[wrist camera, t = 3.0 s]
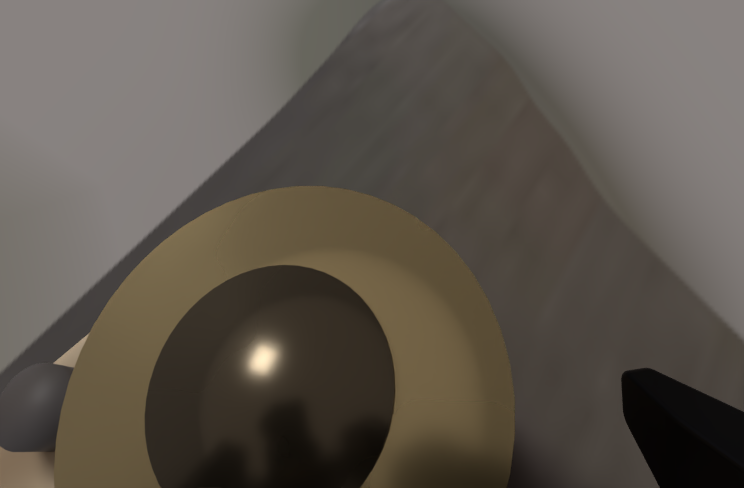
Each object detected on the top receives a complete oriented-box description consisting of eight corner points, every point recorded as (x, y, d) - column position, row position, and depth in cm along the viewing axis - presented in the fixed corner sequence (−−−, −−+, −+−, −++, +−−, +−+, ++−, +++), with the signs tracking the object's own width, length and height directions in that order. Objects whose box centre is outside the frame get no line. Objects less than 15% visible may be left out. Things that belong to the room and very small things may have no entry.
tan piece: (505, 435, 14) (637, 400, 3) (410, 537, 14) (185, 909, 3) (413, 341, 16) (305, 118, 5) (326, 425, 16) (-9, 376, 5)
